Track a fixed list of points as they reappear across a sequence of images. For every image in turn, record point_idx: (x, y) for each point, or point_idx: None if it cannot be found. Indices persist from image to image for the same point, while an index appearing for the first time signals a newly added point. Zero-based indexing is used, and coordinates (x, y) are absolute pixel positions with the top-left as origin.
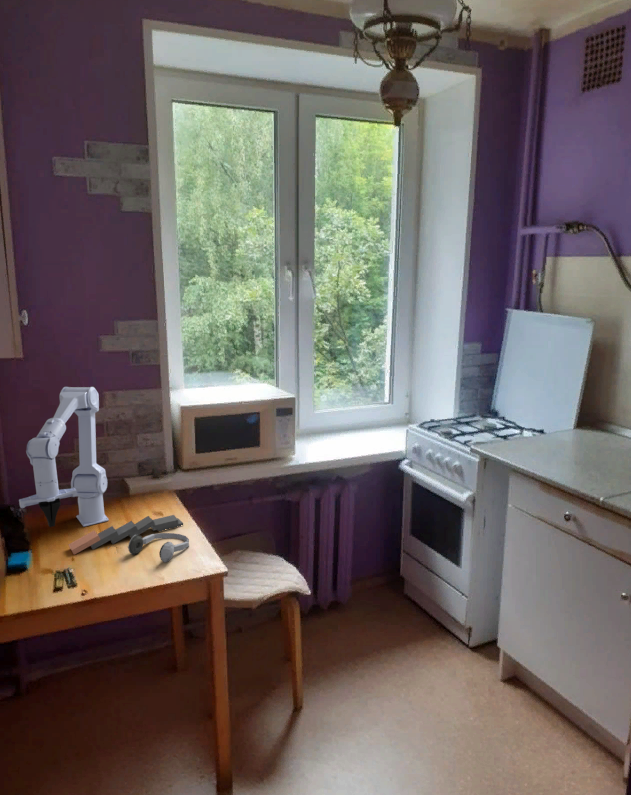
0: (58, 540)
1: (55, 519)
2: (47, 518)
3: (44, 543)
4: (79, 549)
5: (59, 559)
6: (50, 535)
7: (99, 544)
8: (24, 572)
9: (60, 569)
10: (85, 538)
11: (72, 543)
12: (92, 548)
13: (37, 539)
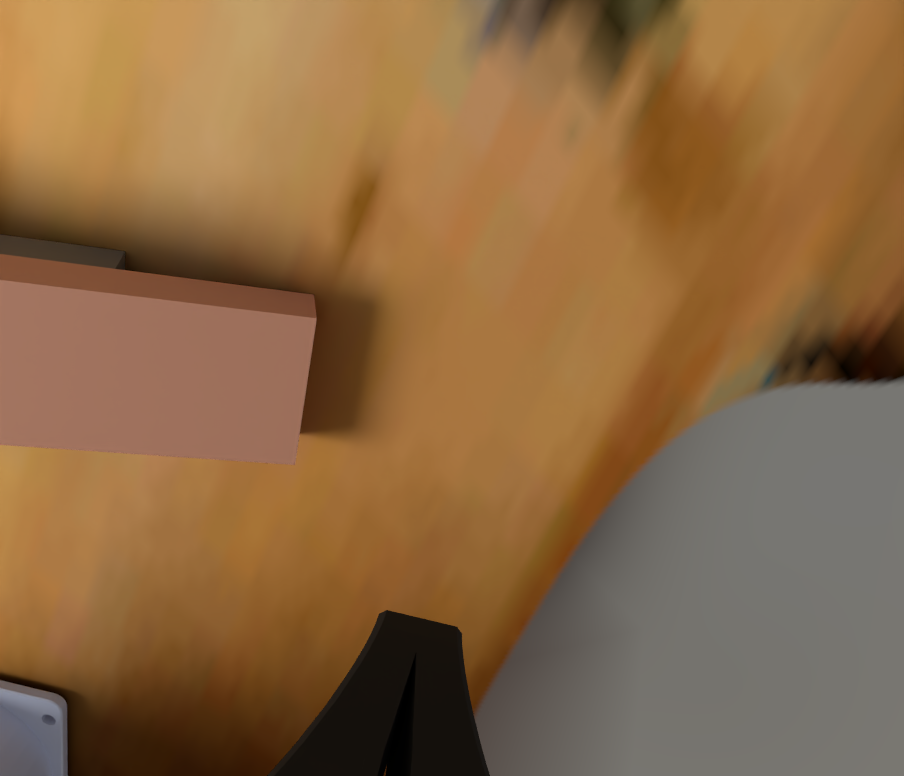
0: (313, 644)
1: (342, 685)
2: (484, 766)
3: None
4: (241, 295)
5: (464, 314)
6: None
7: (28, 243)
8: (843, 322)
9: (567, 78)
10: (111, 383)
11: (257, 438)
12: (119, 257)
13: None
